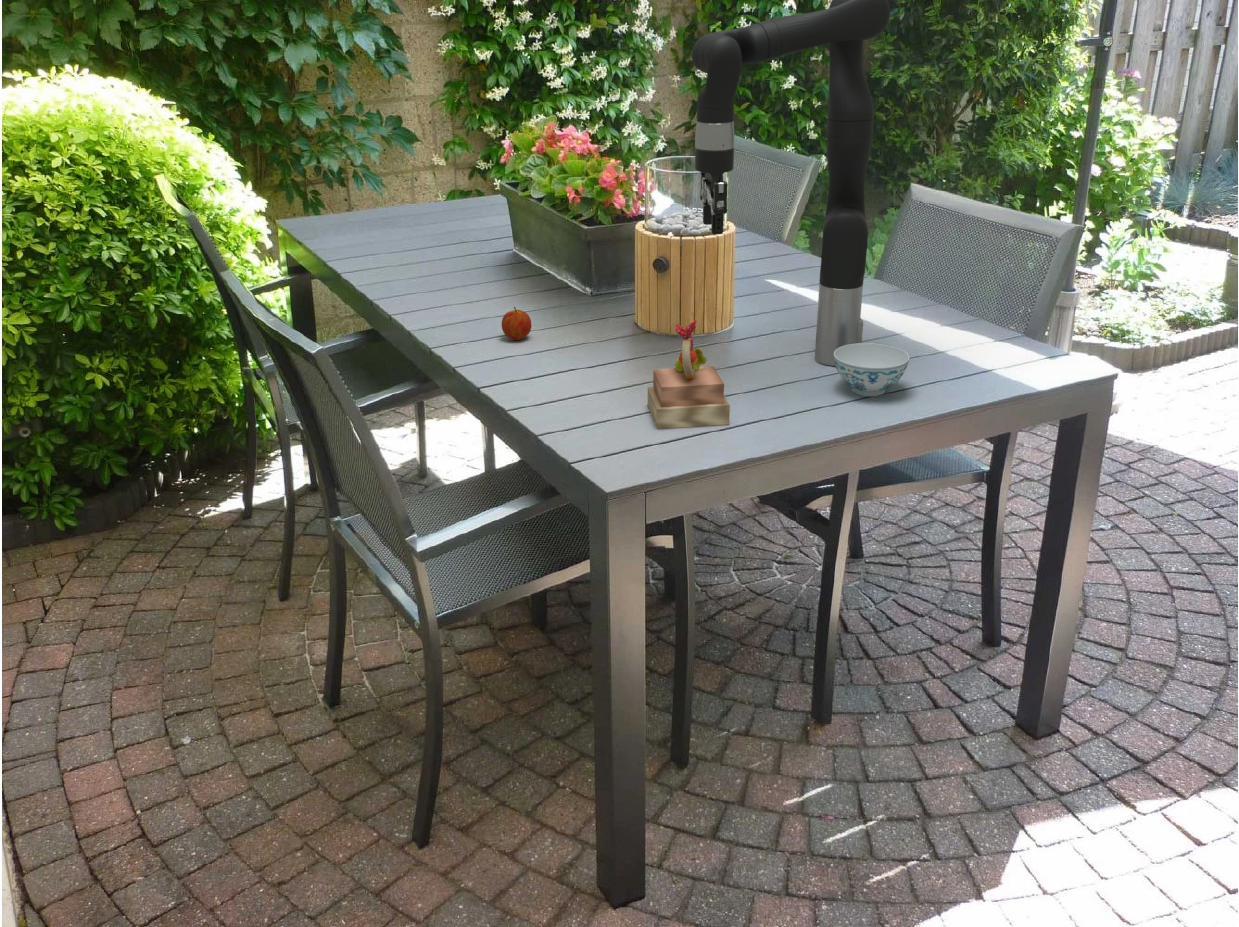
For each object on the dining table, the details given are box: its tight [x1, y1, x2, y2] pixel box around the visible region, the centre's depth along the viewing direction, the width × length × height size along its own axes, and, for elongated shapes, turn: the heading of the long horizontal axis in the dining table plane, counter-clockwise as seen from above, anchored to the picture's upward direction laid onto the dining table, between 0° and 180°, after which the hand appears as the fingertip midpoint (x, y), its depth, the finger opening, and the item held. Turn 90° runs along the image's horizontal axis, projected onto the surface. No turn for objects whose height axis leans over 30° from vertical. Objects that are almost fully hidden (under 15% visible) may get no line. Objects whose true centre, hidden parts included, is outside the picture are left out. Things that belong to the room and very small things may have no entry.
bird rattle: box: [674, 319, 707, 379], centre depth 213 cm, size 6×11×9 cm
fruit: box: [501, 306, 532, 340], centre depth 259 cm, size 7×7×8 cm
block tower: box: [647, 365, 731, 430], centre depth 216 cm, size 14×12×8 cm
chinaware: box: [834, 342, 910, 397], centre depth 227 cm, size 15×15×8 cm
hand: (712, 228), depth 221 cm, fingers open, 8 cm apart
